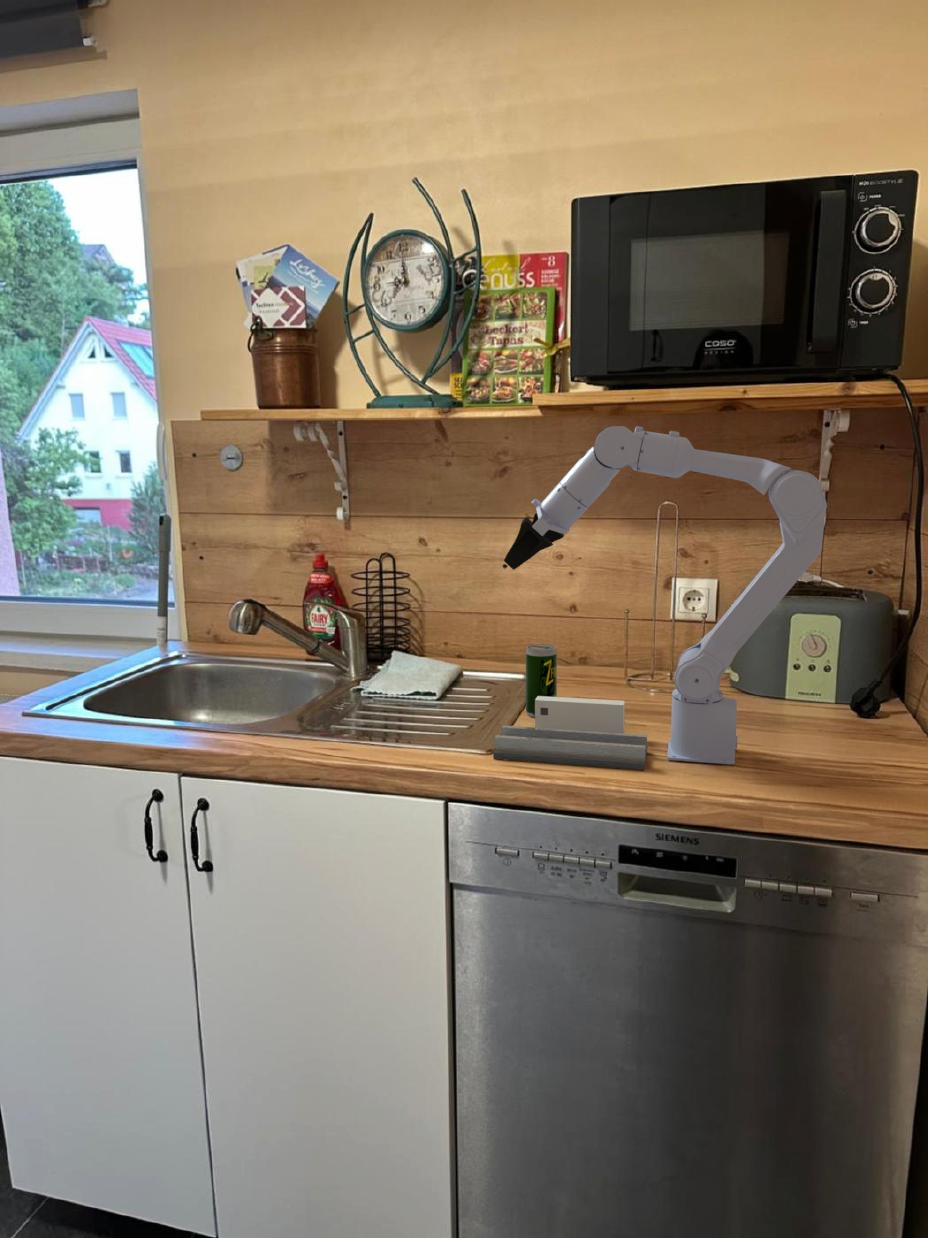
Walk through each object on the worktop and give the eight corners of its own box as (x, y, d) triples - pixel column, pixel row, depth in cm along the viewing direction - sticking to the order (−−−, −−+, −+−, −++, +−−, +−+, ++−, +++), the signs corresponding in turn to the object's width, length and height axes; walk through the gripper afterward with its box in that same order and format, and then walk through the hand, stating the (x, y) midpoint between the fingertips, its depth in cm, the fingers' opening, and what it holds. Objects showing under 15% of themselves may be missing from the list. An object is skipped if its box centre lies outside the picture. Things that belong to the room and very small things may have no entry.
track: (647, 751, 126) (647, 732, 125) (644, 770, 118) (644, 750, 118) (505, 741, 131) (504, 723, 131) (493, 758, 124) (493, 739, 123)
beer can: (520, 716, 144) (520, 648, 142) (533, 708, 149) (533, 642, 147) (549, 720, 142) (549, 651, 140) (561, 712, 146) (561, 645, 144)
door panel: (624, 737, 133) (624, 700, 132) (622, 742, 131) (623, 705, 130) (537, 731, 137) (537, 695, 136) (535, 735, 134) (534, 700, 133)
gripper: (562, 474, 130) (506, 538, 134) (545, 478, 116) (483, 549, 121) (595, 504, 129) (538, 567, 134) (582, 512, 116) (519, 582, 120)
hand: (514, 561), depth 127 cm, fingers open, 7 cm apart
